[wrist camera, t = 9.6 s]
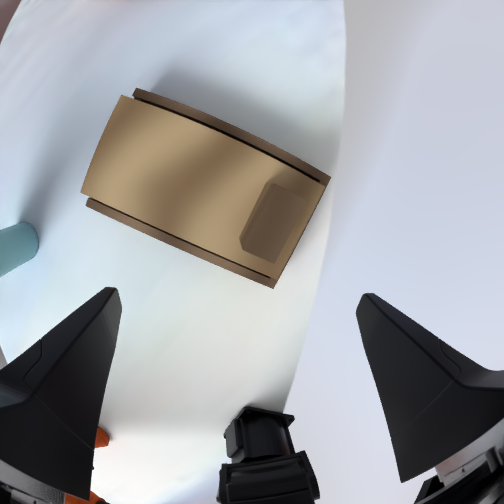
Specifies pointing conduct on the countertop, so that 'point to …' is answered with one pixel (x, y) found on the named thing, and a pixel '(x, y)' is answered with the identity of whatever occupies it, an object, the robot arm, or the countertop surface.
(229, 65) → the countertop surface
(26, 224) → the teal cylinder
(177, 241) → the wooden frame piece
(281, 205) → the lid
